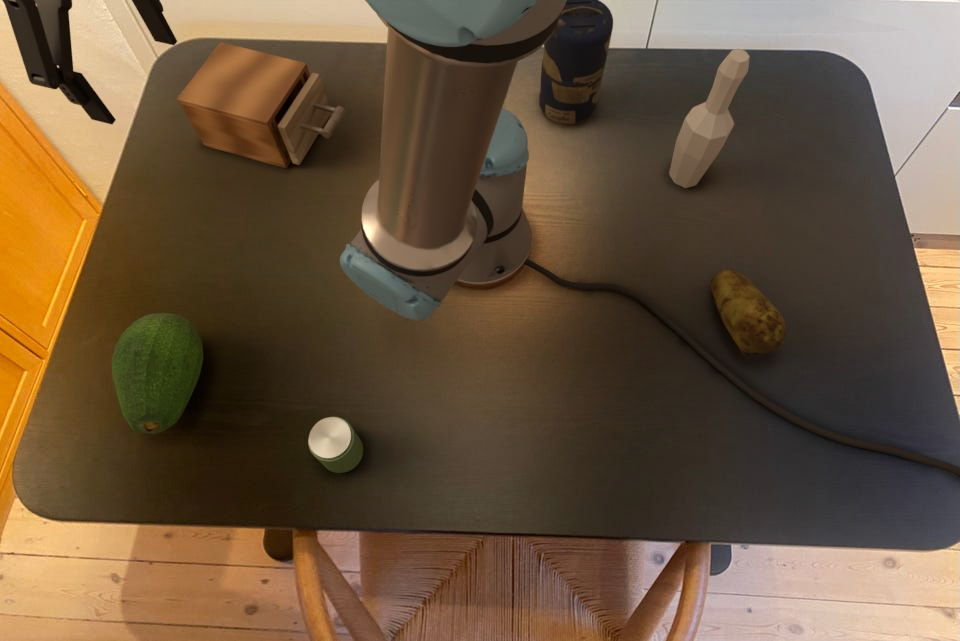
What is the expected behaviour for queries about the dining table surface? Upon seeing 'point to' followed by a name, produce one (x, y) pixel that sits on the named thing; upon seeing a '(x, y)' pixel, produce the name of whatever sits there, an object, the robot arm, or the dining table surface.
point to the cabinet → (241, 101)
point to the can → (335, 444)
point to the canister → (575, 61)
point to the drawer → (305, 118)
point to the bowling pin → (708, 123)
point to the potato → (747, 313)
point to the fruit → (156, 370)
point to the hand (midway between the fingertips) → (136, 79)
